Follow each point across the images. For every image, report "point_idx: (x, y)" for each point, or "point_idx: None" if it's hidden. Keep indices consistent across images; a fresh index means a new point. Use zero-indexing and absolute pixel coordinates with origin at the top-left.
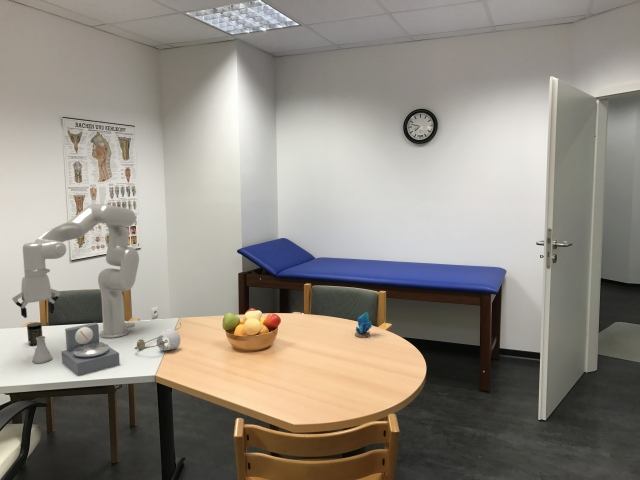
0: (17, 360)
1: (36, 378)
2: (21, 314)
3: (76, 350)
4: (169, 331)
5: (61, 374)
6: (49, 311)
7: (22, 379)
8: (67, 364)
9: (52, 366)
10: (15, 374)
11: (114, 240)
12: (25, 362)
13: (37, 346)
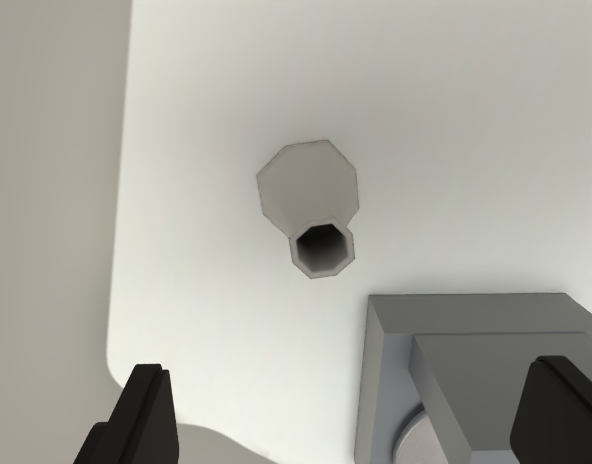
0: (195, 81)
1: (222, 390)
2: (95, 438)
3: (421, 445)
4: None
5: (313, 410)
6: (532, 390)
7: (172, 367)
8: (365, 370)
9: (318, 306)
10: (154, 294)
11: None
12: (227, 154)
13: (289, 229)
